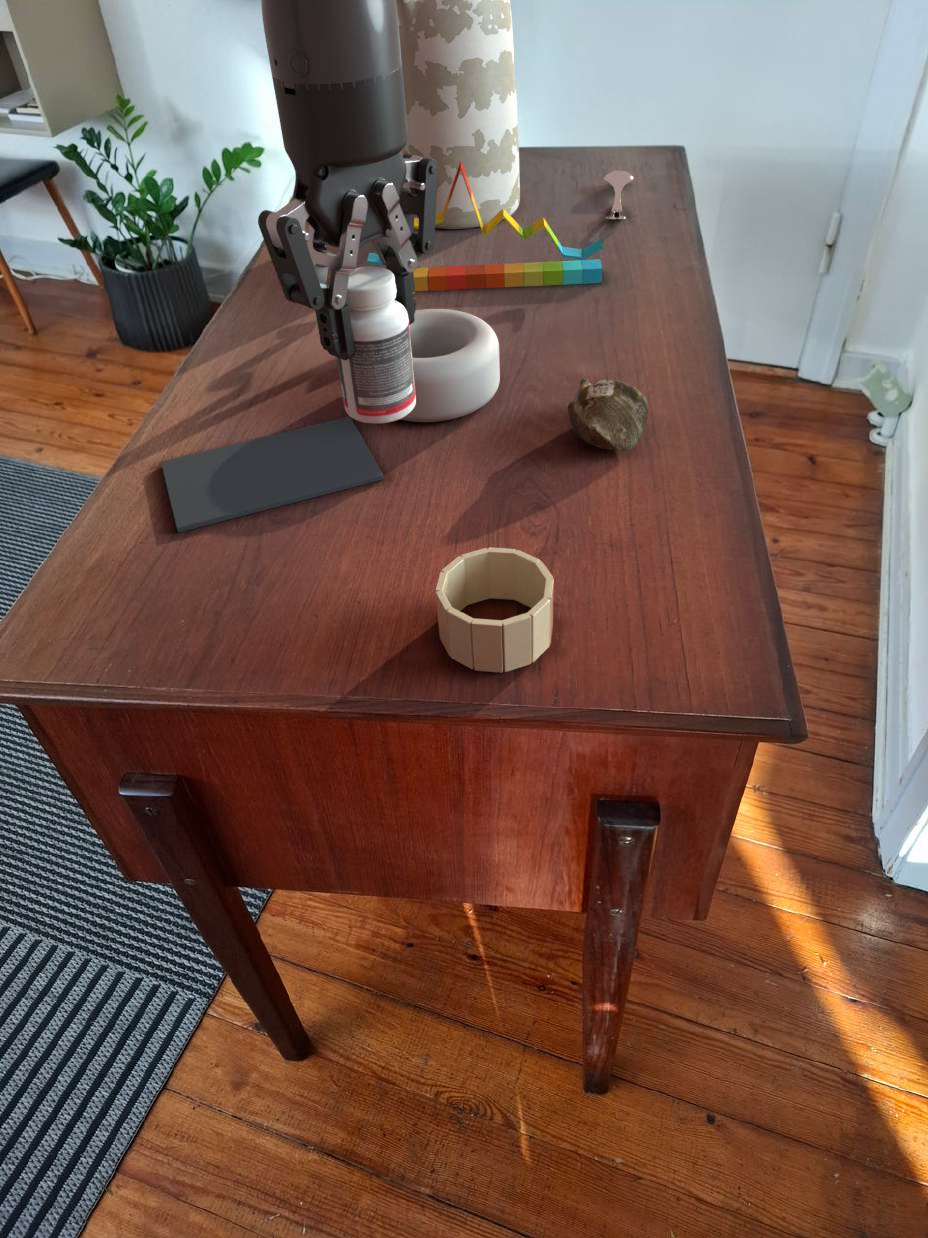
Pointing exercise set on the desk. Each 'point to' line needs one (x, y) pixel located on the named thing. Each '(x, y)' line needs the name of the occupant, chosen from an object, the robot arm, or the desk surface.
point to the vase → (462, 102)
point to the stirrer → (618, 191)
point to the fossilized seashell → (609, 414)
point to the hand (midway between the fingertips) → (371, 337)
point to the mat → (267, 473)
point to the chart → (507, 273)
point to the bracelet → (498, 579)
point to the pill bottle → (377, 350)
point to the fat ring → (452, 364)
